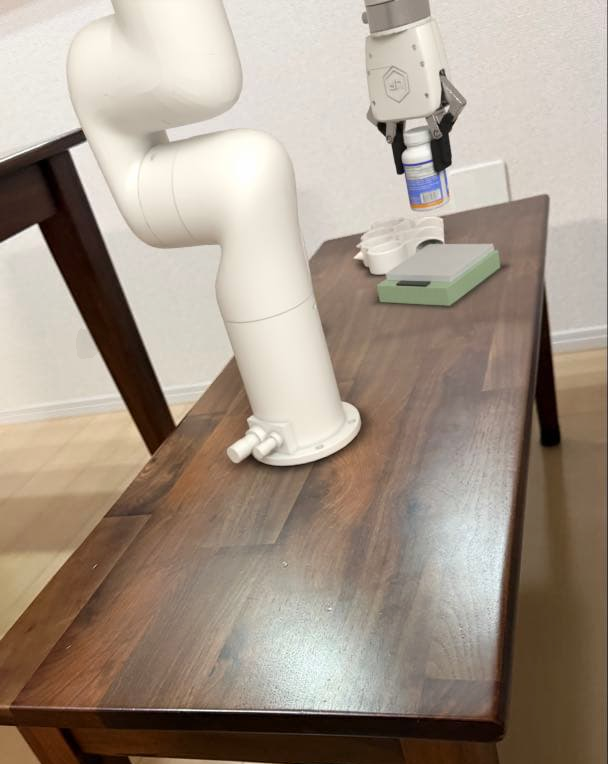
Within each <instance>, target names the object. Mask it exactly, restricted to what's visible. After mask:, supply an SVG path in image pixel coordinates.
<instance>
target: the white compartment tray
mask: <svg viewBox="0 0 608 764" xmlns="http://www.w3.org/2000/svg"><path fill="white" fill-rule="evenodd" d="M429 244H446V243H445V223H444V218H441V217H439V216H436V215H423V216H418V217H415V218H414V217H413V218H406V217H404V216H396V217H389V218H385V219H382V220H379V221H376V222H375V223H373V224H371V226H370V229H369V230H368V231H366V232H364V233H363V235H361V236H360V242H359V243H357V245H356V246H355V248H357V249H359V252H358V253H357V254H355V255H354V256H353V257H352V260H358V261H362V264H363V265H364V266H365V267H366V268H368V269H369V272H370V274H371V275H376V276H381V275H386V273H387V272H389V271H390V270H392V269H393V268H395V267H396V266H398V265H399V264H401V263H402V262H404V261H405V260H406V259H408V258H409V257H411V256H412V255H414V254H415V253H417V252H418V251H420V250H421V249H423V248H424V247H426V246H427V245H429Z"/></svg>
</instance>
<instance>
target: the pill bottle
mask: <svg viewBox="0 0 608 764" xmlns="http://www.w3.org/2000/svg"><path fill="white" fill-rule="evenodd" d="M403 137H404V143H405V145H406V146H407V149H406V150H405V151H404V152H403V154H402V163H403V168H404V174H403V175H404V179H405V184H406V190H407V195H408V201H409V206H410V209H411V211H413V212H421V213H422V212H430V211H433V210H436V209H439V208H441V207H443V206H445V205H447V204H448V203H449V202H450V190H449V189H450V188H449V184H448V183H449V182H448V178H447V170H446V169H447V168H446V169H444V170H443V171H441V172H436V171H435V170H434V165H433V159H432V152H431V146H430V140H432V139H434V137H433V135H432V133H431V130H430V128H429V126H428V124H427V125H420V126H416V127H413V128H410V129H408V130H405V132H404V133H403Z"/></svg>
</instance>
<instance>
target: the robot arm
mask: <svg viewBox="0 0 608 764" xmlns="http://www.w3.org/2000/svg"><path fill="white" fill-rule="evenodd" d="M110 2H111V5H112V8H113V12H114V13H113V14H109V15H105V16H102V17H99V18H97V19H94V20H92V21H90V22H89V23H87V24H86V25H84V26H83V27H82V28H80V29H79V31H78V32H77V33H76V34H75V35H74V37H73V38H72V40H71V42H70V44H69V48H68V52H67V54H66V55H67V56H66V66H65V68H66V70H65V71H66V72H65V73H66V81H67V90H68V94H69V98H70V102H71V105H72V108H73V111H74V113H75V116H76V118H77V120H78V123H79V126H80V128H81V130H82V132H83V134H84V137H85V139H86V141H87V143H88V145H89V148H90V150H91V152H92V154H93V156H94V159H95V161H96V163H97V166H98V167H99V170H100V172H101V174H102V176H103V178H104V181H105V182H106V185H107V187H108V189H109V191H110V194H111V196H112V198H113V200H114V202H115V204H116V207H117V209H118V211H119V212H120V215H121V217H122V218H123V220H124V222H125V224H126V225H127V227H128V228H129V229H130V231H131V232H132V233H133V235H134V236H135V237H136V238H137V239H139V240H140V241H141V243H144V244H146V245H147V246H149V247H152V248H156V249H162V250H164V249H165V250H166V249H167V250H169V249H171V250H172V249H183V248H191V247H201V246H219V247H220V252H221V253H220V254H221V255H220V258H219V263H218V268H217V272H216V277H215V285H214V287H215V288H214V290H215V299H216V301H217V306H218V309H219V312H220V316H221V319H222V322H223V325H224V329H225V331H226V333H227V336H228V339H229V342H230V346H231V349H232V351H233V356H234V358H235V361H236V364H237V367H238V371H239V374H240V376H241V381H242V383H243V386H244V389H245V392H246V396H247V398H248V402H249V405H250V408H251V411H252V413H253V414H252V415H250V416H249V417H248V418H246V421H247V425H248V429H247V430H246V431H245V434H244V435H245V436H243V437H242V438H240V439H238V440H237V441H235V442H233V444H231V445H230V446H229V447H227V449H226V454H227V457H228V458H229V460H230V461H232V462H233V463H234V464H240V463H241V462H242V461H244V460H245V459H246V458H248V457H249V456H250V455H252V456H253V458H254V459H256V460H257V461H258V462H261V463H263V464H265V465H270V466H276V467H289V466H297V465H305V464H309V463H311V462H316V461H318V460H321V459H324V458H326V457H329V456H331V455H333V454H335V453H337V452H339V451H340V450H342V449H343V448H345V447H346V446H347V445H348V444H350V443H351V442H352V441H353V440H354V439H355V438H356V436H358V434H359V432H360V430H361V427H362V420H361V416H360V415H361V414H360V412H359V410H358V409H357V408H356V407H355V405H352V403H349V402H347V401H344V400H343V401H342V399H341V394H340V391H339V387H338V383H337V379H336V376H335V372H334V371H335V370H334V368H333V364H332V360H331V356H330V352H329V348H328V344H327V340H326V337H325V332H324V328H323V324H322V321H321V317H320V313H319V309H318V305H317V301H316V296H315V292H314V293H313V291H314V288H313V289H312V285H313V284H312V285H311V281H310V277H309V273H308V269H307V264H306V260H305V256H304V251H303V246H302V240H301V234H300V229H301V226H300V227H299V225H300V220H299V219H300V218H299V208H298V195H297V194H298V193H297V192H298V191H297V183H296V182H297V181H296V174H295V169H294V165H293V161H292V158H291V156H290V154H289V152H288V150H287V148H286V147H285V145H284V144H283V143H282V142H281V141H280V140H279V139H278V138H276V137H275V136H274V135H272V134H270V133H268V132H266V131H264V130H261V129H256V128H245V127H244V128H243V127H240V128H238V127H237V128H230V129H229V128H228V129H224V130H218V131H213V132H208V133H203V134H198V135H193V136H190V137H188V138H183V139H177V140H172V141H170V139H169V137H168V133H167V130H169V129H170V130H171V129H175V128H180V127H184V126H189V125H193V124H199V123H201V122H206V121H209V120H212V119H214V118H217V117H219V116H222V115H223V114H225V113H227V112H228V111H230V110H231V109H232V108H233V107H234V106H235V105H236V104H237V102H238V101H239V100H240V96H241V94H242V91H243V85H244V83H243V82H244V79H243V78H244V75H243V69H242V63H241V59H240V55H239V50H238V47H237V44H236V40H235V36H234V34H233V30H232V27H231V24H230V21H229V18H228V16H227V12H226V8H225V5H224V2H223V0H110ZM363 2H364V6H365V7H364V8H365V11H363V12H362V14H361V21H362V23H363V24H365V25H368V29H369V35H367V36H366V37H365V43H364V44H365V45H364V47H365V50H364V52H365V53H364V54H365V58H364V59H365V72H366V81H367V90H368V96H369V104H370V106H369V107H368V110H367V112H366V115H365V116H366V119H367V120H368V121H369V122H370V123H371V124H372V125H373V126H375V127H376V128H377V130H378V131H379V132H380V133H381V134H382V135H383V136H384V138H385V141H386V143H387V144H389V145H390V146H391V151H392V156H393V162H394V165H395V171H396V174H397V175H398V176H400V175H405V174H404V168H403V163H402V154H403V152H404V151H405V150H406V149H407V146H406V145H405V143H404V137H403V133H404V132H406V126H407V121H409V120H410V121H411V120H418V119H425V121H426V123H427V125H428V126H429V128H430V130H431V133H432V135H433V137H434V139H432V140H430V146H431V152H432V159H433V165H434V170H435V171H436V172H441V171H443V170H444V169H448V168H449V167H451V166H452V164H453V159H452V158H453V154H452V145H451V140H450V133H451V132H452V131H453V127H454V125H455V123H456V122H457V120H458V119H459V115H461V114H462V112H463V110H464V109H465V107H467V104H468V103H467V99H466V98H465V97H464V96H463V94H462V93H461V92H460V91H459V90H458V89H457V88H456V87H455V86H454V85H453V83H452V76H451V72H450V66H449V62H448V58H447V52H446V48H445V44H444V41H443V37H442V33H441V31H440V29H439V25H438V22H437V20H436V18H432V12H431V5H430V0H363ZM445 108H448V110H446V109H445Z"/></svg>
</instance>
